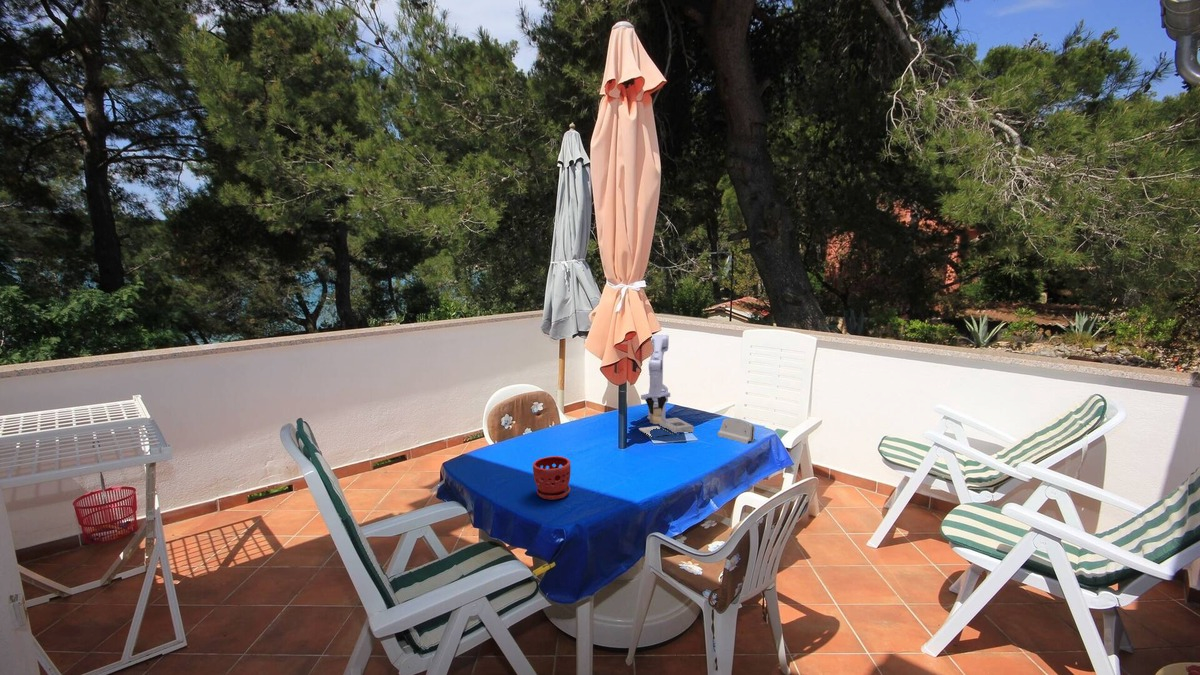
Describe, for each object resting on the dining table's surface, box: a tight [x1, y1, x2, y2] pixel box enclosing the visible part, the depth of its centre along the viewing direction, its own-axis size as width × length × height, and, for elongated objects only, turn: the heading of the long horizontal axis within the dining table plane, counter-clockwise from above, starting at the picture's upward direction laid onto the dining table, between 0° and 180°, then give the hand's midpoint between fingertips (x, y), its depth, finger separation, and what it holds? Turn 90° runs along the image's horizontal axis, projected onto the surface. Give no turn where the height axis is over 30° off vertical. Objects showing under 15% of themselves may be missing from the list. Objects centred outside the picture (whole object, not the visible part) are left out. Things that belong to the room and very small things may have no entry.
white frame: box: [658, 417, 694, 433], centre depth 268 cm, size 16×10×3 cm, turn 21°
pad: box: [638, 425, 661, 438], centre depth 263 cm, size 14×10×1 cm
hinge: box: [717, 417, 756, 445], centre depth 253 cm, size 17×5×10 cm, turn 43°
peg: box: [649, 407, 662, 425], centre depth 261 cm, size 4×4×7 cm
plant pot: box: [532, 455, 572, 501], centre depth 193 cm, size 13×13×12 cm
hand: (655, 413), depth 261 cm, fingers closed on peg, 4 cm apart
